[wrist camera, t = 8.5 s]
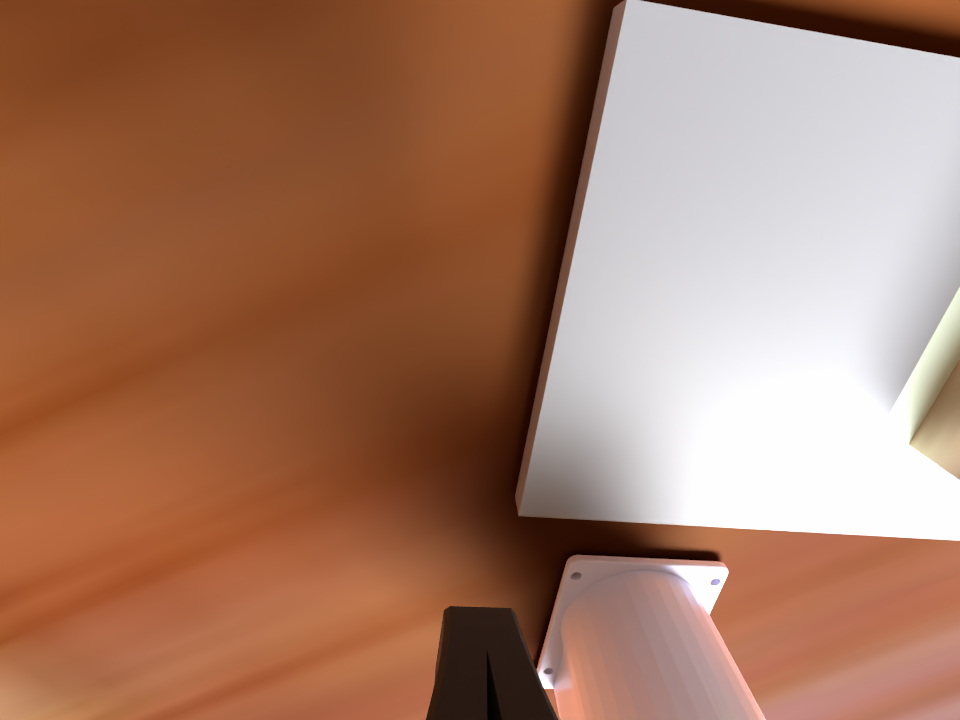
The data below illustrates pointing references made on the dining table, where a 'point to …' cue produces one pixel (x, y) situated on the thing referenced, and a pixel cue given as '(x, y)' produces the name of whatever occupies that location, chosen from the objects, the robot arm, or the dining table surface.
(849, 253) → the board
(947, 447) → the block
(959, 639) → the dining table surface
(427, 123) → the dining table surface
